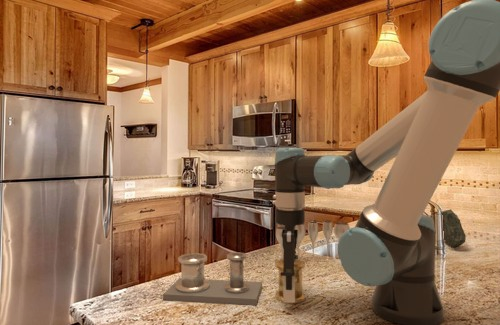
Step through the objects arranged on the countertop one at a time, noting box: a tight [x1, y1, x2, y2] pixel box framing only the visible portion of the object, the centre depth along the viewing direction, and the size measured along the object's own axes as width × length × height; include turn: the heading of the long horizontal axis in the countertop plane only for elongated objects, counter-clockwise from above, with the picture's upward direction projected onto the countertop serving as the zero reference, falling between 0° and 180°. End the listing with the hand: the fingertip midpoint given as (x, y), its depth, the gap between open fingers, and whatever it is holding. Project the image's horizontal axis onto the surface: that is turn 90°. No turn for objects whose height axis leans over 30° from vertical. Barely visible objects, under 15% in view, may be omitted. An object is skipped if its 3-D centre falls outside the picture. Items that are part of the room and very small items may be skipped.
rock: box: [441, 209, 467, 248], centre depth 141 cm, size 18×6×14 cm, turn 162°
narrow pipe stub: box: [225, 251, 249, 294], centre depth 93 cm, size 6×6×9 cm
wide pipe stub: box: [176, 252, 210, 293], centre depth 95 cm, size 9×9×8 cm
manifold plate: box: [162, 277, 263, 306], centre depth 94 cm, size 24×12×2 cm, turn 81°
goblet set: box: [275, 220, 351, 263], centre depth 124 cm, size 28×6×13 cm, turn 106°
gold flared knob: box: [274, 258, 306, 304], centre depth 91 cm, size 8×8×9 cm
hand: (290, 292), depth 91 cm, fingers open, 12 cm apart
